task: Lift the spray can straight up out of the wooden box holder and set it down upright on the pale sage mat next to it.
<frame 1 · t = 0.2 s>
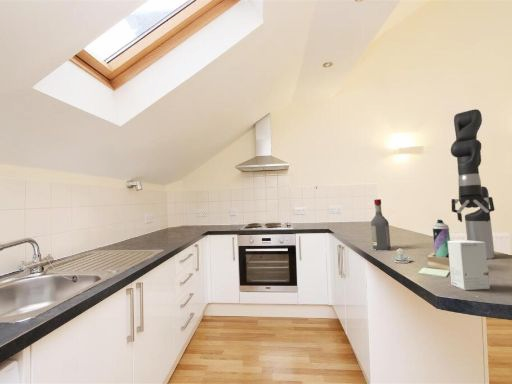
hand: (473, 221, 111), 18 cm above the countertop, tool pointing down, fingers open, 8 cm apart
skincare box: (470, 287, 82), on the countertop
pacifier: (401, 262, 119), on the countertop
liquor: (381, 249, 152), on the countertop
spray can: (444, 268, 105), resting in wooden box holder
mat: (433, 272, 100), on the countertop
wooden box holder: (444, 267, 106), on the countertop
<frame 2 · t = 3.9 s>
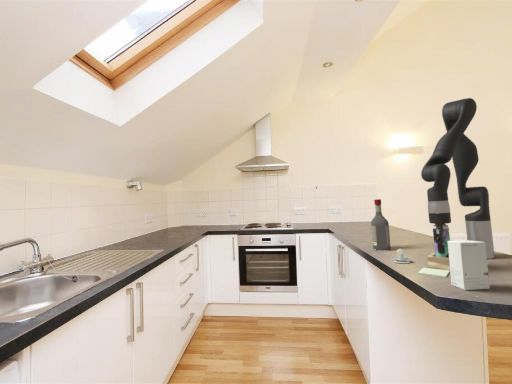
hand: (443, 252, 106), 6 cm above the countertop, tool pointing down, fingers closed on spray can, 5 cm apart
spray can: (444, 268, 105), resting in wooden box holder, touching gripper
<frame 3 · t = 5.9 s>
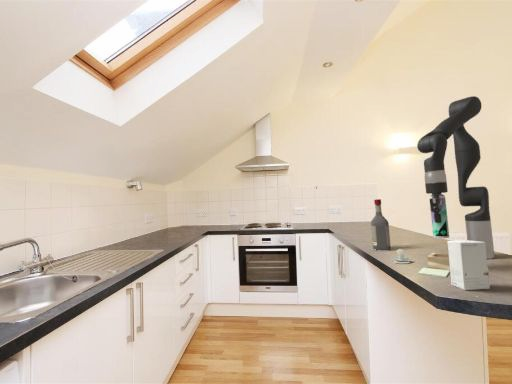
hand: (439, 221, 107), 19 cm above the countertop, tool pointing down, fingers closed on spray can, 5 cm apart
spray can: (441, 237, 107), point 12 cm above the countertop, touching gripper
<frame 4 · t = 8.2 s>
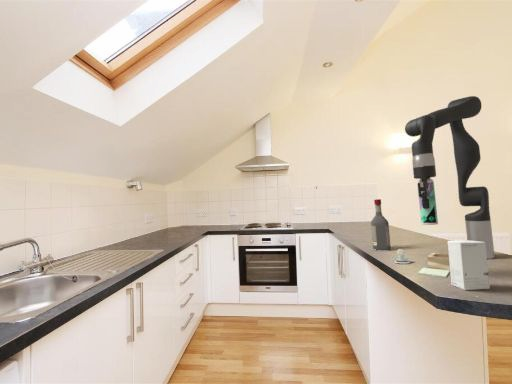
hand: (427, 207, 101), 25 cm above the countertop, tool pointing down, fingers closed on spray can, 5 cm apart
spray can: (429, 224, 101), point 19 cm above the countertop, touching gripper
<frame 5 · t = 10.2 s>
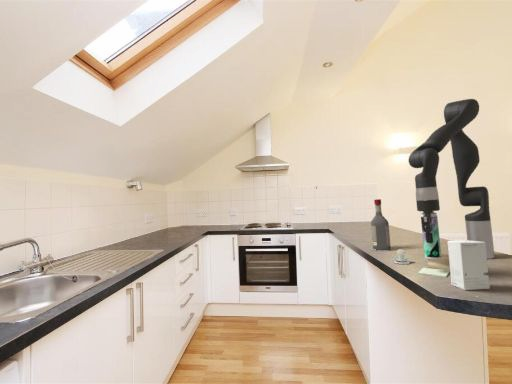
hand: (431, 241, 100), 12 cm above the countertop, tool pointing down, fingers closed on spray can, 5 cm apart
spray can: (433, 258, 100), point 5 cm above the countertop, touching gripper
when the fingers open (8 cm above the countertop, at t = 12.1 s): spray can stays where it is, resting on mat.
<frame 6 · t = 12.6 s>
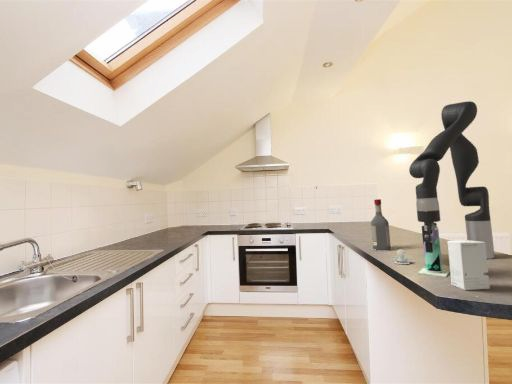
hand: (431, 250, 100), 9 cm above the countertop, tool pointing down, fingers open, 8 cm apart
spray can: (434, 271, 100), resting on mat
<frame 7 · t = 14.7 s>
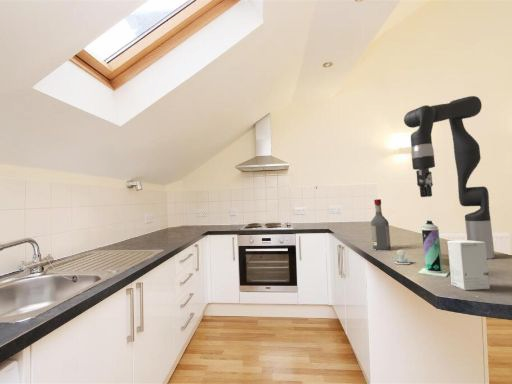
hand: (426, 196, 101), 30 cm above the countertop, tool pointing down, fingers open, 8 cm apart
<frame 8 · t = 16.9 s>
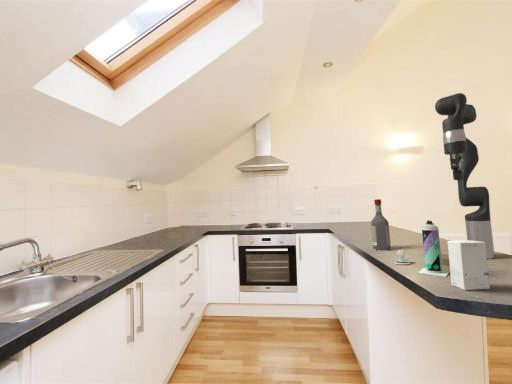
hand: (458, 180, 106), 36 cm above the countertop, tool pointing down, fingers open, 8 cm apart
at the end: spray can 0.2 cm off-centre on the mat, point 0.2 cm above the mat's base; spray can tilted 0°; spray can touching mat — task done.
